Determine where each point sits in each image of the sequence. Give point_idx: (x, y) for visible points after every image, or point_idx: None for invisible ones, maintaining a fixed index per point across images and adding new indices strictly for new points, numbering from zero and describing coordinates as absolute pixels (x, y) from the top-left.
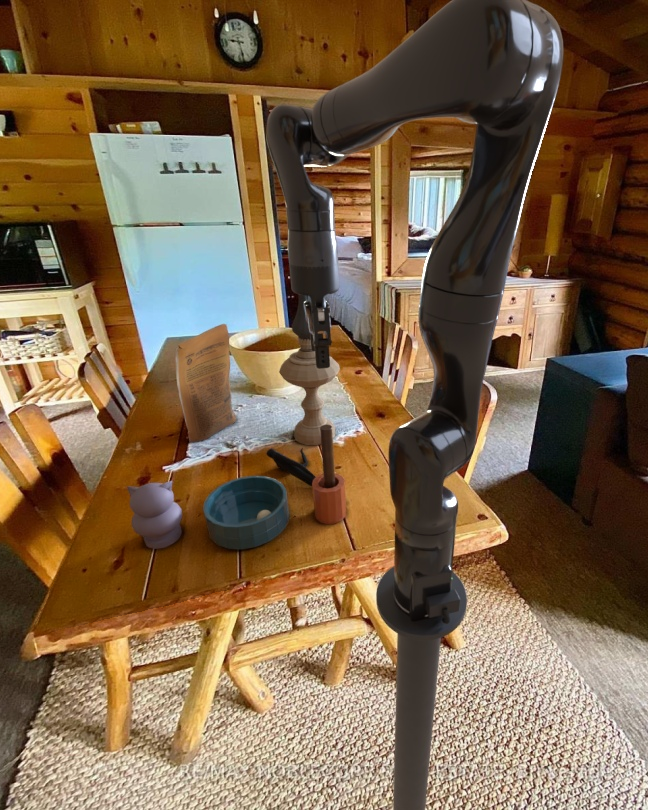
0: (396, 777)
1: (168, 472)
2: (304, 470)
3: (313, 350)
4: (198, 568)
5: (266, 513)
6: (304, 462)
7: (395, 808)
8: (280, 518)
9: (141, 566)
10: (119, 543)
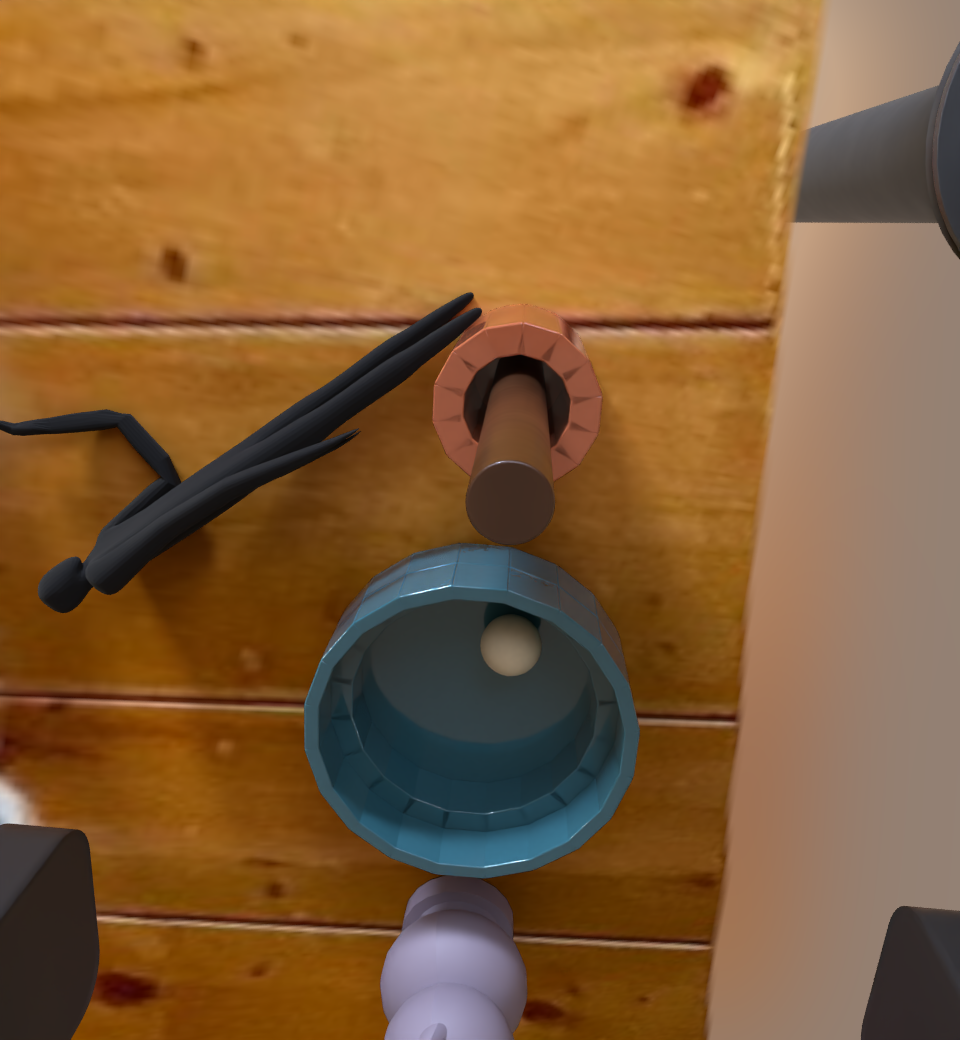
0: None
1: None
2: (285, 474)
3: (90, 973)
4: (644, 827)
5: (520, 650)
6: (112, 427)
7: None
8: (579, 607)
9: (574, 960)
10: None
